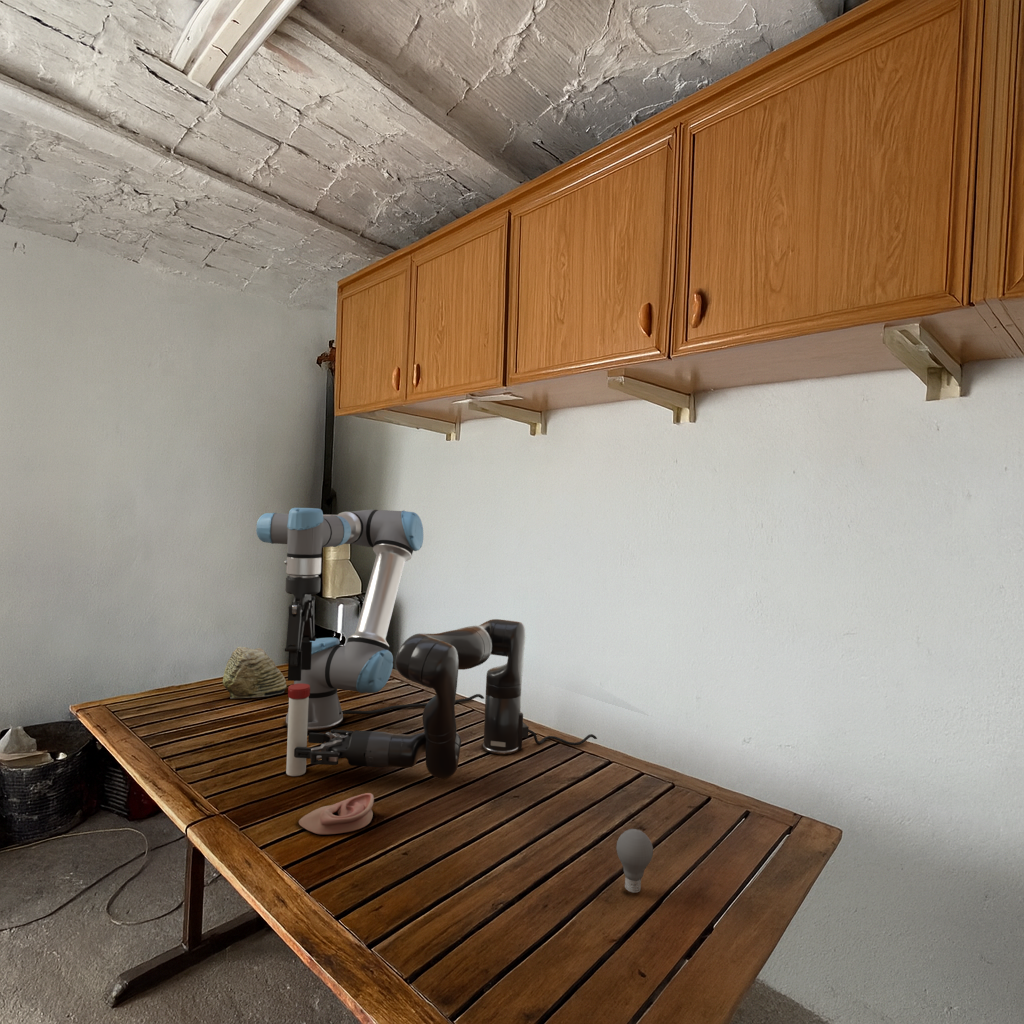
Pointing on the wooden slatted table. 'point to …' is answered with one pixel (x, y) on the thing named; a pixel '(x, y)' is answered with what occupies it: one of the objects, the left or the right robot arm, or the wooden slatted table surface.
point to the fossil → (252, 674)
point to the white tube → (296, 735)
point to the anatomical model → (340, 816)
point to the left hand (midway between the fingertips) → (299, 674)
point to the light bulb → (634, 857)
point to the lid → (299, 691)
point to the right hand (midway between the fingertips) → (301, 744)
